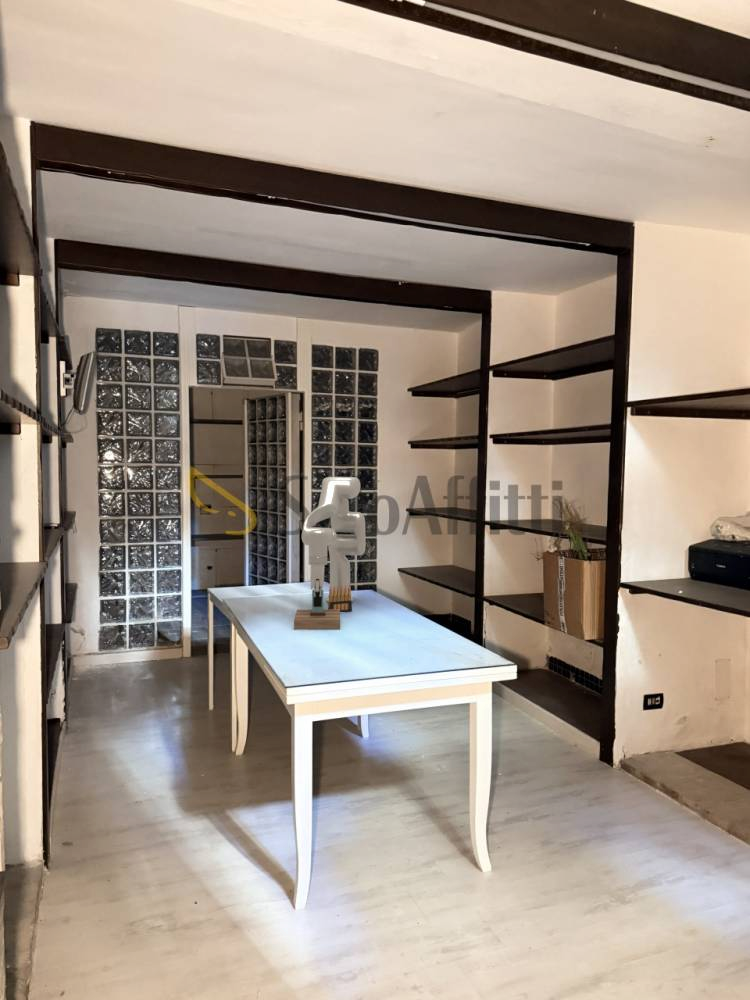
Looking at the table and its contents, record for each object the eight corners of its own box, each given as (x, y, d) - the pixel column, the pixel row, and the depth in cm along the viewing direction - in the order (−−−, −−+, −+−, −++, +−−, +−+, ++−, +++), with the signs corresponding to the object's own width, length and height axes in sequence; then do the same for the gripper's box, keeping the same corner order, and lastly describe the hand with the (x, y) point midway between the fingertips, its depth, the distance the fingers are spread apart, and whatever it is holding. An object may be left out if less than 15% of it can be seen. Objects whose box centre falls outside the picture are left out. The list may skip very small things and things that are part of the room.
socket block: (296, 618, 282) (296, 609, 282) (340, 618, 283) (340, 609, 283) (294, 629, 264) (294, 619, 264) (339, 629, 265) (340, 619, 265)
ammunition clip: (350, 611, 298) (350, 584, 297) (352, 611, 296) (352, 584, 296) (327, 613, 294) (327, 585, 293) (329, 613, 292) (329, 586, 291)
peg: (312, 609, 275) (312, 589, 275) (323, 609, 276) (323, 589, 275) (312, 611, 271) (312, 591, 270) (323, 611, 271) (323, 591, 271)
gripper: (309, 557, 280) (309, 601, 281) (307, 563, 264) (307, 609, 265) (327, 557, 281) (327, 601, 282) (326, 563, 264) (326, 609, 265)
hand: (317, 604), depth 273 cm, fingers closed on peg, 4 cm apart
